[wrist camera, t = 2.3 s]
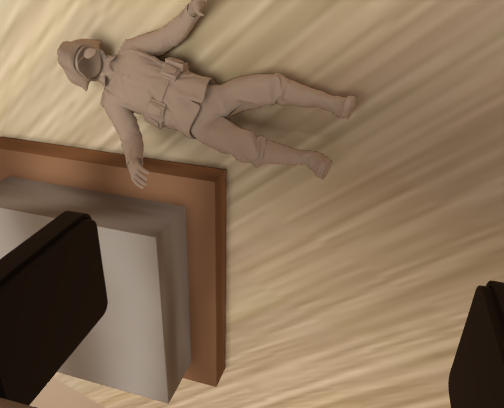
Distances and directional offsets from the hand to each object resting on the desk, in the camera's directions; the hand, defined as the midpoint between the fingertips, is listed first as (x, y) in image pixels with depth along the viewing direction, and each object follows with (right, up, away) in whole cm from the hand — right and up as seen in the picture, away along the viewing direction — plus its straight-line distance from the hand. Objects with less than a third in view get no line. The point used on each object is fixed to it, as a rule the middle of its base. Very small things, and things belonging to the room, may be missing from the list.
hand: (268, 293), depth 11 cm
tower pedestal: (-8, -1, +15) cm, 17 cm away
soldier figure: (+3, +4, +8) cm, 9 cm away
